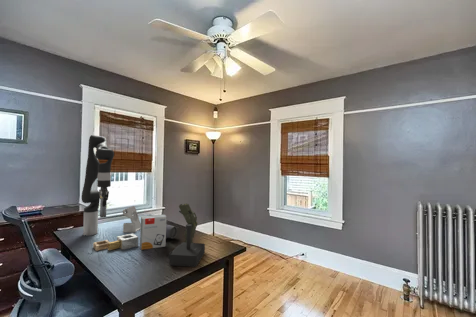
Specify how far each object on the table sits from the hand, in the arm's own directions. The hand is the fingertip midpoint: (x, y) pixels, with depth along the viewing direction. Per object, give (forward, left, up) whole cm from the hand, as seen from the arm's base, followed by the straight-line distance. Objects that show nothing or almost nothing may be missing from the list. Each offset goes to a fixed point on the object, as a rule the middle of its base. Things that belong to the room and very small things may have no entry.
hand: (103, 205), depth 148 cm
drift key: (+8, +6, -27) cm, 29 cm away
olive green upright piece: (+37, +41, -27) cm, 61 cm away
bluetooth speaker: (+7, +37, -27) cm, 46 cm away
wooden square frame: (0, 0, -27) cm, 27 cm away
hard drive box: (+20, +25, -27) cm, 42 cm away
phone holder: (-27, +29, -27) cm, 48 cm away
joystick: (+52, +31, -27) cm, 66 cm away
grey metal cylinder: (0, 0, -7) cm, 7 cm away
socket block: (+8, +13, -27) cm, 31 cm away
